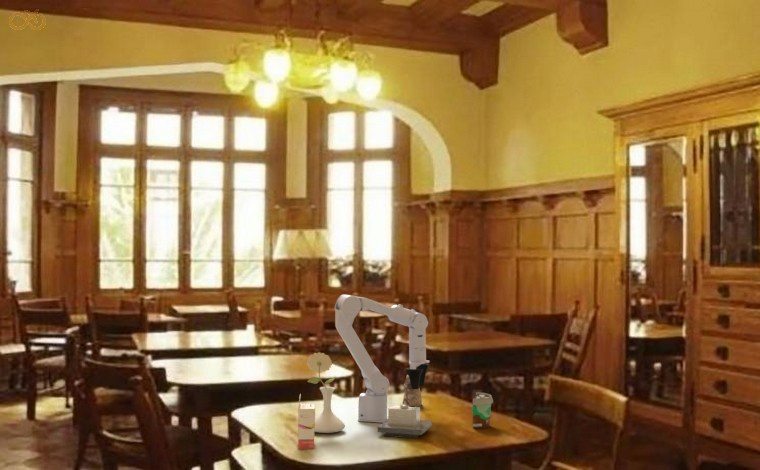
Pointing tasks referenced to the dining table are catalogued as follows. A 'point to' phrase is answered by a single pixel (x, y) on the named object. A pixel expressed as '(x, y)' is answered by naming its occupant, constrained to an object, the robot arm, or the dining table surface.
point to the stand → (404, 429)
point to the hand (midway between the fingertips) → (418, 387)
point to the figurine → (411, 394)
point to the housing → (404, 415)
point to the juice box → (306, 426)
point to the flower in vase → (324, 395)
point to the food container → (481, 410)
